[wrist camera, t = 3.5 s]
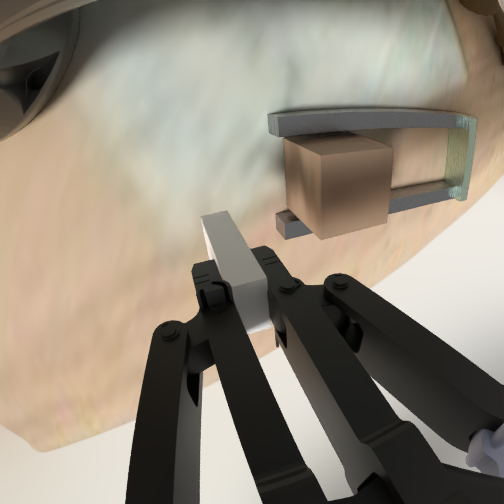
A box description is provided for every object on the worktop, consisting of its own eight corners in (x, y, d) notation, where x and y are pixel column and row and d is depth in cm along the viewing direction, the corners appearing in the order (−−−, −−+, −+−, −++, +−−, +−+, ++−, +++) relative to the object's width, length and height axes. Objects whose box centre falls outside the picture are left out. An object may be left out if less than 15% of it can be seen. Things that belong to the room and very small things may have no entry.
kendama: (493, 79, 25) (424, -47, 14) (508, 46, 23) (447, -67, 12) (528, 88, 21) (466, -52, 10) (539, 53, 18) (483, -70, 7)
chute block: (282, 138, 22) (320, 155, 17) (347, 131, 23) (393, 147, 19) (287, 207, 26) (320, 240, 21) (346, 194, 27) (386, 222, 22)
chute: (267, 114, 21) (282, 118, 19) (457, 112, 26) (476, 118, 23) (276, 229, 27) (290, 245, 24) (449, 190, 31) (466, 199, 29)
